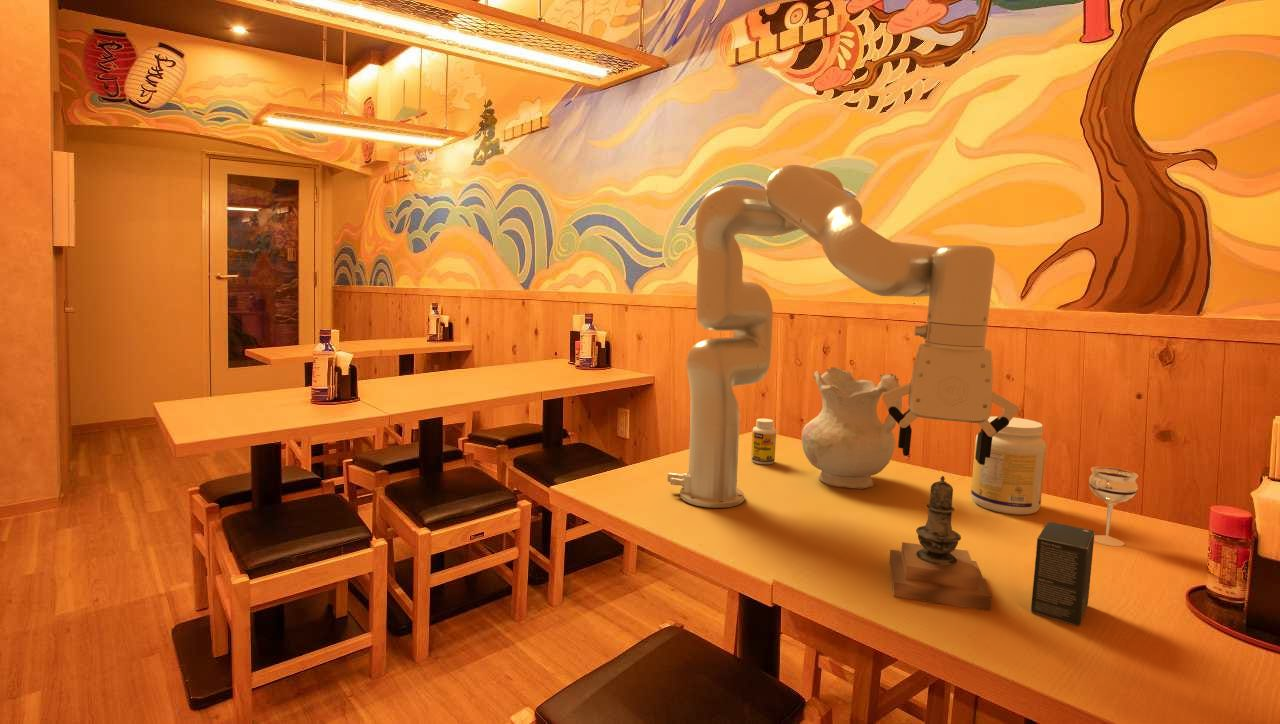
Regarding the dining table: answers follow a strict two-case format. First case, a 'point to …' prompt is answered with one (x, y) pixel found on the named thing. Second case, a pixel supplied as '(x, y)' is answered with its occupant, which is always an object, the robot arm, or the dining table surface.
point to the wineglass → (1112, 494)
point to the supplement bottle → (763, 442)
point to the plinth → (938, 579)
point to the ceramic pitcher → (850, 430)
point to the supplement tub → (1011, 469)
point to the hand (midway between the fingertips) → (942, 457)
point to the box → (1062, 572)
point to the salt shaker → (938, 527)
